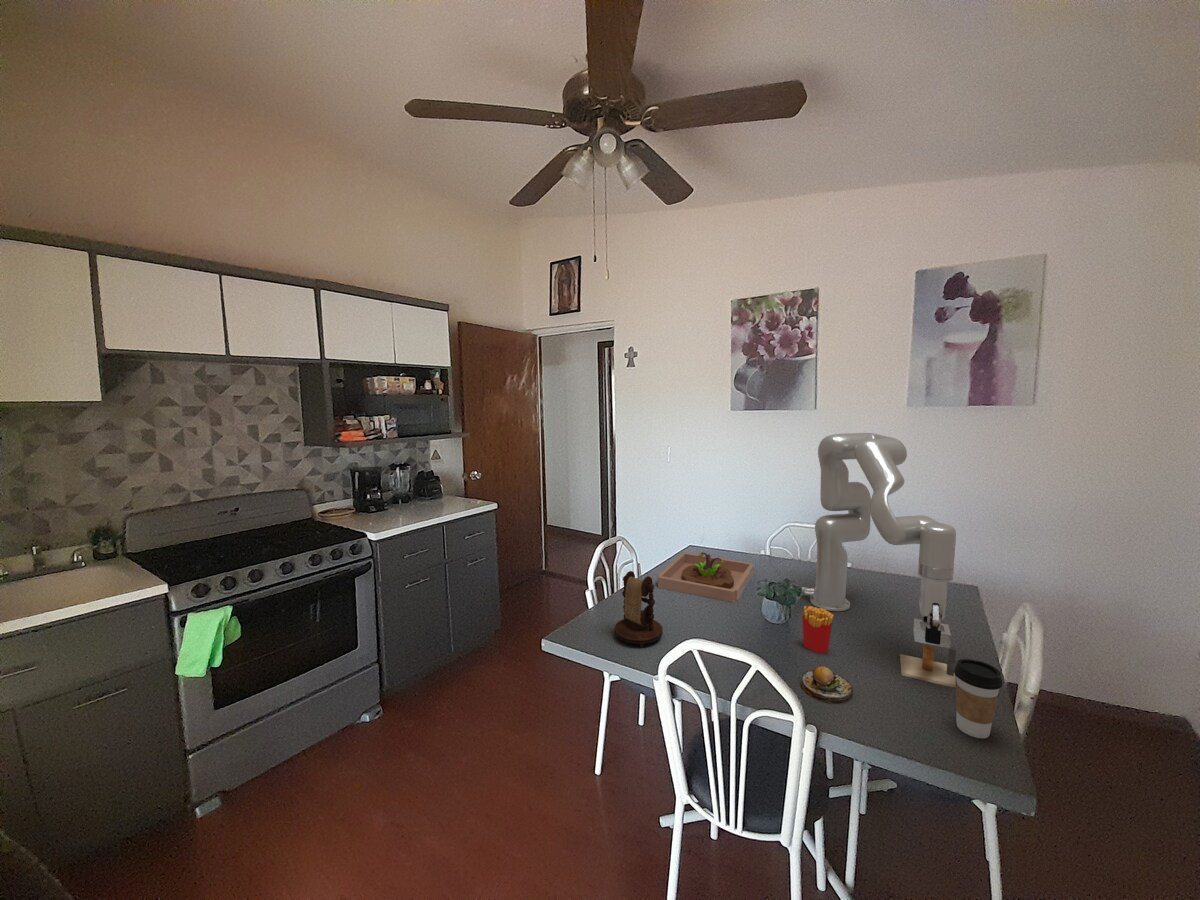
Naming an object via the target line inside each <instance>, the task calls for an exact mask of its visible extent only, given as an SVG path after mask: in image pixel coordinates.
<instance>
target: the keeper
mask: <svg viewBox="0 0 1200 900" xmlns="http://www.w3.org/2000/svg"><path fill="white" fill-rule="evenodd" d="M922 649H923V650H922V658H920V657H915V656H911V655H907V654H902V653H901V654H900V653H899V659H900V671H901V672H900V673H901V674H900V675H901V676H903V677H906V678H911V679H916V680H920V681H925V682H928V683H931V684H935V685H941V686H945V687H949V688H955V689H956V686H955V681H956V675H955V673H954V670H955V667H956V665H955V664H956V656H957V650H956V649H957V648H956V647H955V646H950V648H947V649H948V652H947V663H943V662H939V661H934V660H935V657H934V656H935V647H934V645H930V644H924V645H923V648H922Z"/></svg>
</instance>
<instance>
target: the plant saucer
mask: <svg viewBox="0 0 1200 900" xmlns="http://www.w3.org/2000/svg"><path fill="white" fill-rule="evenodd" d="M714 558H717V557H716V556H711V557H710V561H712V560H713V559H714ZM719 558H720V559H722V560H723V563H722V564H721V563H720V560H719V559H716V560H715V561H714V562H713V566H715V565H717V564H720V566H719V567H724V568H726V569H728V570H729V571H731V575H732V577H733V579H734V586H733V587H732V588H722V587H716V586H711V585H706V584H700V583H695V582H690V581H684V580H682V571H683V570H684V569H685V568H687V567H688V566H692V565H695V564H700V562H702V563H703V564H704V562H705V561H706V556H705V554H703V556H702V557H699V553H698V554H697V553H690V552H684V553H683V552H682V553H680V554H679V555H678V557H676V558H675V559H674V560H673V561H671V563H670V564H668V565H667V567H665V568H663V570H662V571H661V572H660V573H659V574H658V575H657V588H659V589H660V588H661V589H663V590H664V589H665V590H669V591H675V592H680V593H684V594H688V595H694V596H699V597H704V598H709V599H713V600H714V599H715V600H719V601H725V602H729V603H735V602H738V601H739V599H740V597H741V596H742V594H743V592H744V591H745V589H746V588H747V586H748V585H749V583H750V581H751V579H752V578H753V576H754V574H755V573H754V572H755V571H754V569H755V565H754V563H753V562H747V561H740V560H734V559H728V558H724V557H723V558H722V557H719Z"/></svg>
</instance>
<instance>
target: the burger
mask: <svg viewBox="0 0 1200 900" xmlns="http://www.w3.org/2000/svg"><path fill="white" fill-rule="evenodd" d="M800 685H801V687H802V690H803V691H804V693H807V694H808V696H810V697H811V698H813V699H814V700H815V699H816V700H818V701H821V702H824V703H828V704H844V703H845V704H846V703H847V702H849V701H850V700H851V699H852V698H853V691H854V690H853V686H852V685H851V683H850V682H849V681H848V680H847V679H846V678H844V677H843V676H841V675H840V674H837V673H834V672H832V670H831V669H830V668H828V667H826V666H823V665H822V666H821V665H819V667H816V668H815V669H811V670H808V671H804V672H803V674H801V680H800Z"/></svg>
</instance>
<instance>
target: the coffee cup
mask: <svg viewBox="0 0 1200 900" xmlns="http://www.w3.org/2000/svg"><path fill="white" fill-rule="evenodd" d="M954 674H955V678H956V681H955V686H956V688H955V707H956V708H955V709H956V710H955V711H956V713H955V714H956V717H955V718H956V726H957V728H958V730H960V731H961V732H962V733H964V734H966V735H968V736H969V737H973V738H975V739H988V738H989V737H990V734H991V730H992V725H993V721H994V716H995V713H996V710H997V706H998V705H997V704H998V702H999V697H1000V689H1002V687H1003V679H1002V674H1001V671H1000V670H999V669H998V668H996V667H995V666H993V665H991V664H989V663H987V662H984V661H981V660H976V659H968V658H964V659H963V658H961V659H960V658H959V660H957V662H956V665H955V668H954Z"/></svg>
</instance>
